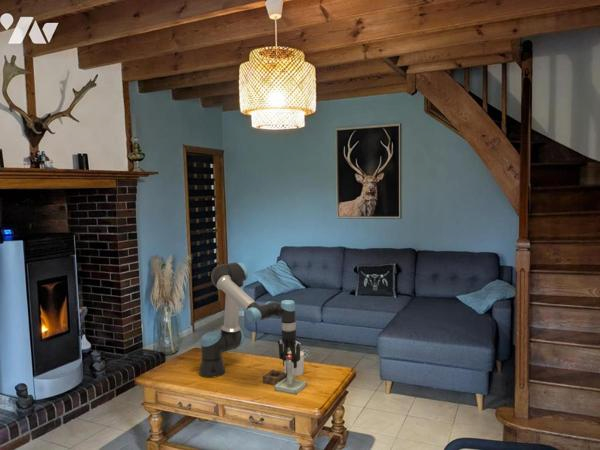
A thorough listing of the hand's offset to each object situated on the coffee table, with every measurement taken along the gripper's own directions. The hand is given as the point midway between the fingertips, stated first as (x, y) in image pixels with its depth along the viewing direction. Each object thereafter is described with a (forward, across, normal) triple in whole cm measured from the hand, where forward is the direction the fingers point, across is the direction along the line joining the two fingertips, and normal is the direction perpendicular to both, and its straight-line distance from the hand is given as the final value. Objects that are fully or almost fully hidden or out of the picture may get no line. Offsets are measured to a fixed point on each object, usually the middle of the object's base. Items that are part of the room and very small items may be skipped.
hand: (290, 372), depth 245 cm
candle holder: (+9, -8, +20) cm, 23 cm away
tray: (+9, 0, 0) cm, 9 cm away
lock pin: (+6, 0, 0) cm, 6 cm away
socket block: (+8, -13, +5) cm, 16 cm away
